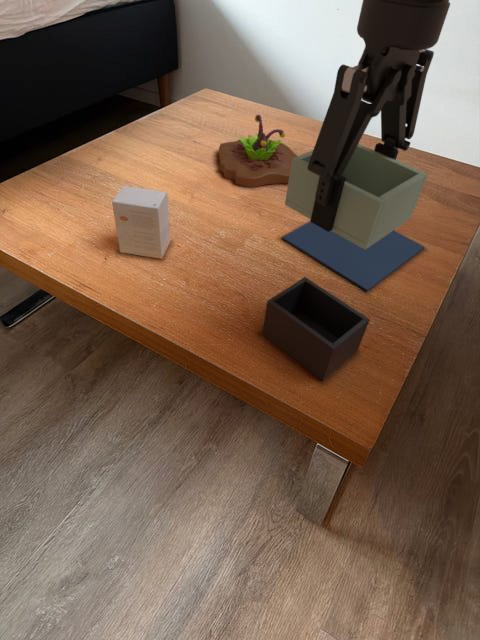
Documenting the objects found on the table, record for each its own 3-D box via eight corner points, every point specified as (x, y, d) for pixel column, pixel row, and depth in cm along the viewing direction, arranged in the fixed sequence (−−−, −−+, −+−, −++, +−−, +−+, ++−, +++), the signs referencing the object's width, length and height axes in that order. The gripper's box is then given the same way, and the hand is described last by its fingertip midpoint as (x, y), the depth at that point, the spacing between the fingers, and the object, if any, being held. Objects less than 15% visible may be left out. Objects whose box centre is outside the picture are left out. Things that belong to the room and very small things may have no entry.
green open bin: (410, 219, 56) (428, 174, 51) (365, 250, 50) (380, 202, 46) (332, 180, 61) (343, 136, 57) (284, 204, 56) (291, 158, 51)
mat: (423, 248, 89) (424, 246, 89) (366, 292, 78) (367, 289, 78) (342, 205, 98) (343, 203, 98) (281, 239, 88) (282, 236, 87)
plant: (282, 145, 117) (288, 100, 109) (311, 182, 104) (321, 134, 97) (207, 150, 112) (208, 103, 104) (228, 189, 99) (231, 139, 91)
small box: (170, 242, 84) (168, 191, 77) (162, 260, 80) (158, 208, 73) (129, 235, 85) (123, 184, 77) (118, 252, 81) (111, 200, 73)
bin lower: (357, 351, 68) (370, 319, 63) (322, 381, 64) (333, 349, 59) (297, 309, 74) (305, 276, 69) (261, 334, 69) (267, 300, 64)
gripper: (432, -26, 47) (372, 171, 63) (294, -10, 35) (263, 229, 51) (501, -12, 44) (420, 193, 60) (374, 11, 32) (314, 261, 48)
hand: (347, 210), depth 55 cm, fingers closed on green open bin, 10 cm apart
